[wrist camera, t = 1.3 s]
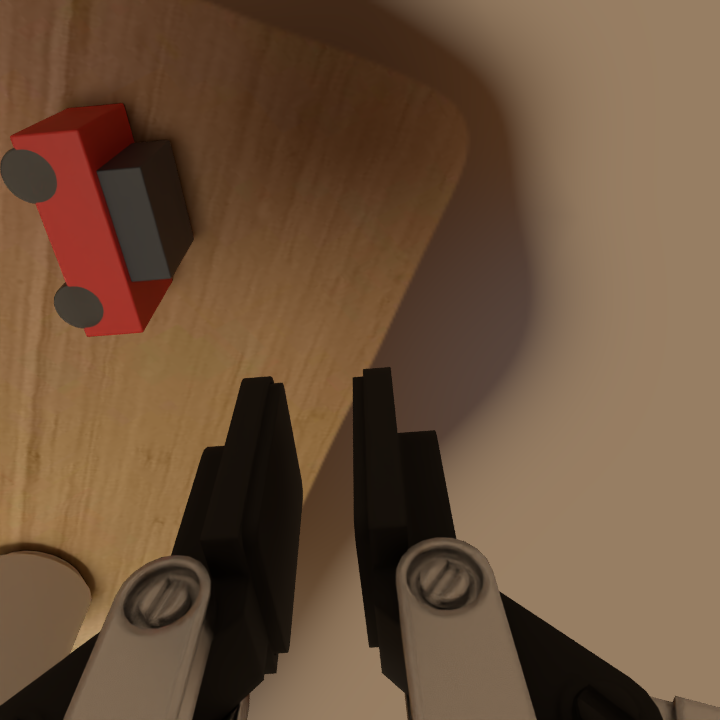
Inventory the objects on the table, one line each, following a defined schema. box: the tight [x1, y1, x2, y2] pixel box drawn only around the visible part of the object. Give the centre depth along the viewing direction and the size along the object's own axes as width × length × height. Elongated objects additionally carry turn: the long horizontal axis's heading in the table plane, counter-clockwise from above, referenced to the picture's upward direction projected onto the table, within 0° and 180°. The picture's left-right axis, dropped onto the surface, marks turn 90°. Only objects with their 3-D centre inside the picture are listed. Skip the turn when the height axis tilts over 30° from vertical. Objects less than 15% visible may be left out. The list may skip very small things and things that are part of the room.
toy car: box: [0, 103, 194, 337], centre depth 24 cm, size 8×5×5 cm, turn 5°
